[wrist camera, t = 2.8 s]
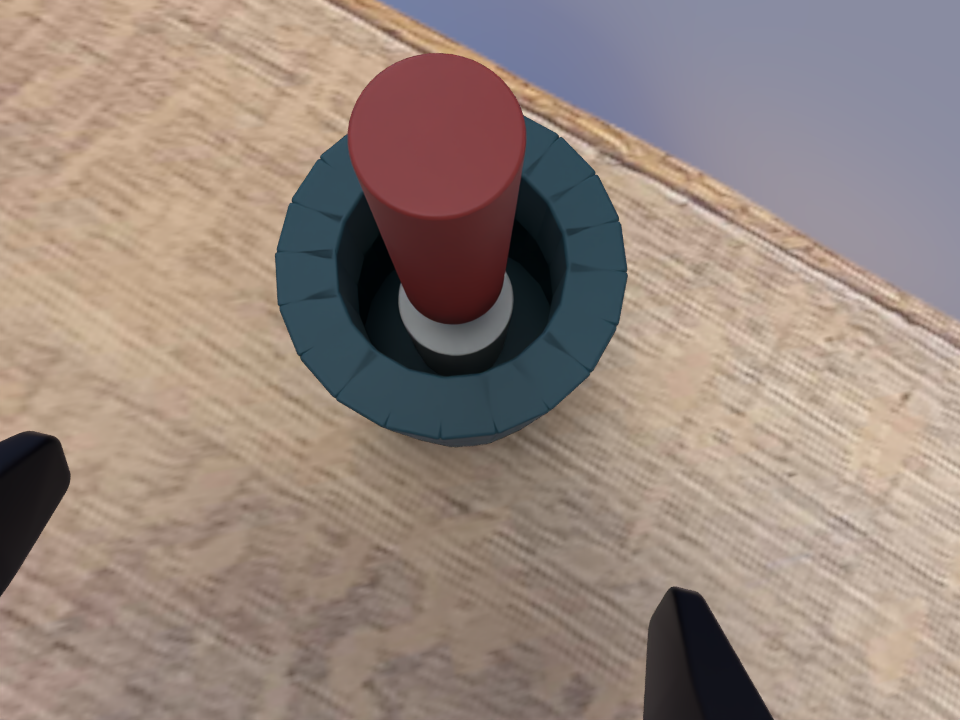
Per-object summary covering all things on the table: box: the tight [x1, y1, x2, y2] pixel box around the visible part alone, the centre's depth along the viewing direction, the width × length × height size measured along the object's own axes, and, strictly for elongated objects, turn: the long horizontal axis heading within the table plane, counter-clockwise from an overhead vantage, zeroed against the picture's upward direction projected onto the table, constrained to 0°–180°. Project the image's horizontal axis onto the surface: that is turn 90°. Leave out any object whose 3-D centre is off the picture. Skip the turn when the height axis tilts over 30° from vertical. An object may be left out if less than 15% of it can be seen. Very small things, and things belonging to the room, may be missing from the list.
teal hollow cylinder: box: [275, 115, 628, 447], centre depth 18 cm, size 7×7×9 cm
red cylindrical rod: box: [348, 53, 526, 376], centre depth 15 cm, size 3×3×13 cm
